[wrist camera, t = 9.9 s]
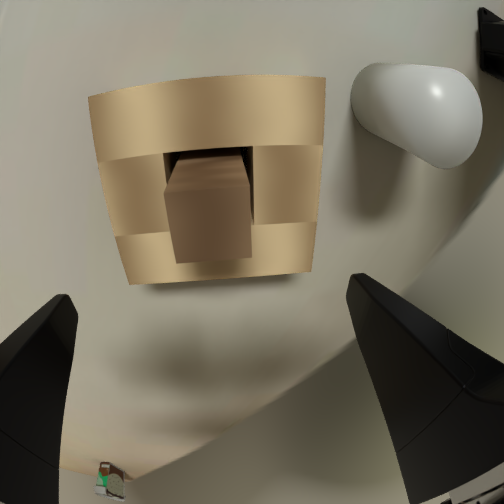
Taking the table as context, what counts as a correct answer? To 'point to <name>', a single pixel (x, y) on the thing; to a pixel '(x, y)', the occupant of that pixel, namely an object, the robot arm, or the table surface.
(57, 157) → the table surface
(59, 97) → the table surface
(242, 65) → the table surface
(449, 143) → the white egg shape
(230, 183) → the square peg
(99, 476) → the food container
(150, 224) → the socket block
